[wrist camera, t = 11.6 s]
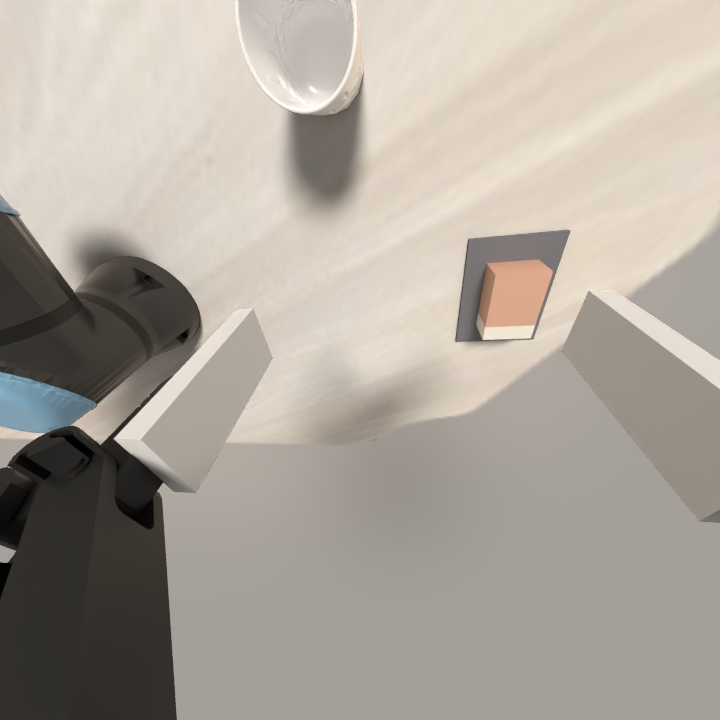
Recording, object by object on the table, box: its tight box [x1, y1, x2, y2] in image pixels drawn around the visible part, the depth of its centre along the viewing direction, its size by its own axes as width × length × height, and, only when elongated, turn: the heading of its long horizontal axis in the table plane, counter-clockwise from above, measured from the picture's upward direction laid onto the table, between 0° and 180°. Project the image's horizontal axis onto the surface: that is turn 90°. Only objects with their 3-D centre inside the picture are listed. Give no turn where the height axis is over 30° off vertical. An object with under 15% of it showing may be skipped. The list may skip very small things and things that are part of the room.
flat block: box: [476, 259, 553, 340], centre depth 34 cm, size 9×6×4 cm, turn 7°
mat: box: [456, 230, 570, 342], centre depth 36 cm, size 11×15×1 cm
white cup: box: [235, 0, 364, 115], centre depth 21 cm, size 8×8×10 cm
